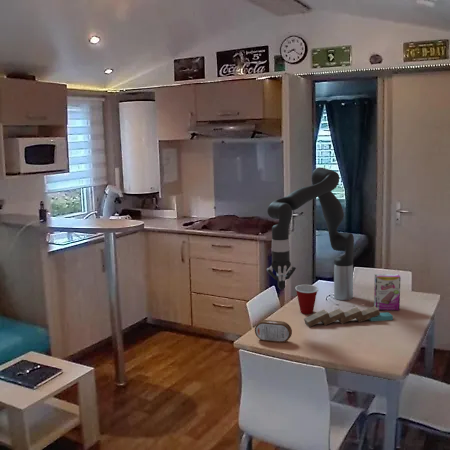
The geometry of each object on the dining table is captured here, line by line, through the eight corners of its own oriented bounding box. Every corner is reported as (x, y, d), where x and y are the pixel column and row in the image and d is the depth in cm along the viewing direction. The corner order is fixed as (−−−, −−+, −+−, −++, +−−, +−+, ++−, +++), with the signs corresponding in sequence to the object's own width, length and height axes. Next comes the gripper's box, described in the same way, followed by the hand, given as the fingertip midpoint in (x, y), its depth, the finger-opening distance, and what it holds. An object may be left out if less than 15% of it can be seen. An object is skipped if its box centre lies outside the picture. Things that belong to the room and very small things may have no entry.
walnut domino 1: (307, 322, 242) (328, 312, 243) (303, 318, 247) (323, 309, 248) (309, 327, 243) (329, 317, 244) (305, 323, 248) (325, 314, 249)
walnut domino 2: (323, 320, 244) (343, 311, 245) (318, 317, 248) (339, 308, 250) (324, 325, 244) (345, 316, 245) (320, 321, 249) (340, 313, 250)
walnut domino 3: (340, 319, 245) (361, 310, 246) (336, 315, 250) (356, 307, 250) (341, 324, 245) (362, 315, 246) (338, 320, 250) (358, 312, 251)
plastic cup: (303, 317, 256) (303, 291, 254) (291, 311, 265) (290, 286, 263) (323, 313, 260) (323, 288, 258) (310, 307, 270) (310, 283, 268)
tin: (292, 341, 227) (291, 321, 226) (290, 344, 224) (290, 323, 223) (256, 338, 232) (255, 318, 231) (254, 340, 229) (253, 321, 228)
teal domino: (370, 317, 247) (392, 315, 248) (366, 313, 252) (388, 312, 253) (370, 322, 248) (392, 320, 248) (366, 318, 253) (388, 317, 253)
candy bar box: (375, 310, 262) (375, 276, 259) (373, 307, 266) (374, 273, 264) (400, 310, 260) (400, 276, 258) (398, 307, 265) (398, 273, 263)
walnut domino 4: (357, 317, 246) (378, 309, 246) (353, 313, 251) (375, 305, 251) (358, 322, 246) (380, 314, 246) (355, 318, 251) (376, 310, 251)
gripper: (293, 246, 242) (293, 285, 245) (263, 248, 240) (264, 288, 243) (298, 249, 235) (299, 290, 238) (267, 252, 233) (268, 292, 236)
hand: (281, 288), depth 240 cm, fingers closed
